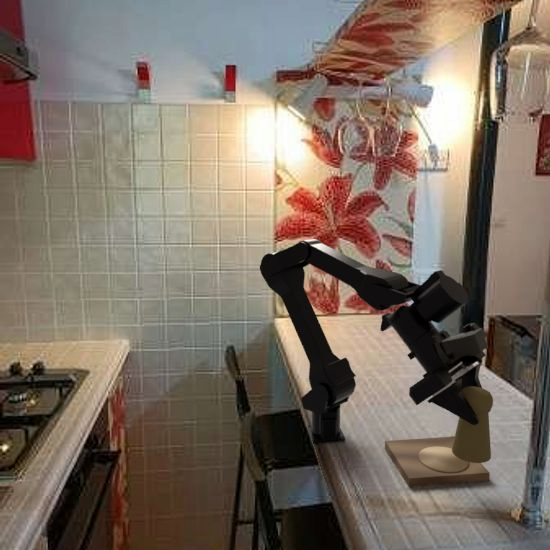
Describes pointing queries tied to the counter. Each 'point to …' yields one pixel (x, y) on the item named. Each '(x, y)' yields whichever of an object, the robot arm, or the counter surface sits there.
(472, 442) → the pepper shaker
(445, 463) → the plate
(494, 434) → the counter surface
